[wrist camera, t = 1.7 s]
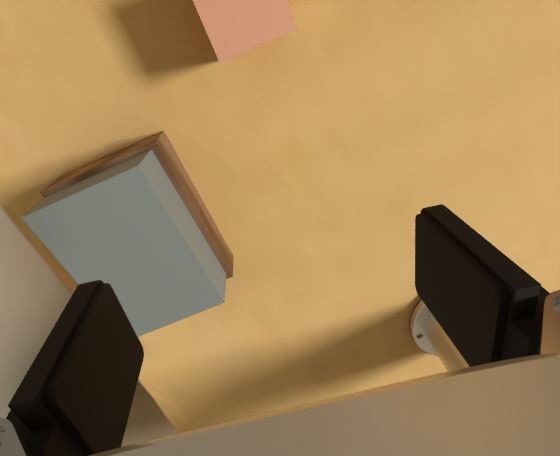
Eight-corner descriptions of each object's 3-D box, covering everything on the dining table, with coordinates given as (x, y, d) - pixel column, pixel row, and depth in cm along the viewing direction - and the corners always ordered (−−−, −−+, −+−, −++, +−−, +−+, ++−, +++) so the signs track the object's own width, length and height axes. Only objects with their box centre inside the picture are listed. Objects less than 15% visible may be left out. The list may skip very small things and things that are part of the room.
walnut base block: (164, 129, 34) (155, 141, 30) (233, 253, 41) (232, 276, 37) (62, 175, 35) (40, 192, 31) (146, 288, 42) (136, 314, 38)
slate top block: (151, 148, 31) (138, 165, 27) (226, 274, 37) (224, 302, 33) (48, 195, 32) (21, 217, 28) (138, 309, 38) (126, 341, 34)
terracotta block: (259, -51, 29) (264, -71, 23) (287, 31, 31) (296, 29, 26) (190, -18, 29) (179, -31, 24) (222, 59, 32) (219, 63, 27)
